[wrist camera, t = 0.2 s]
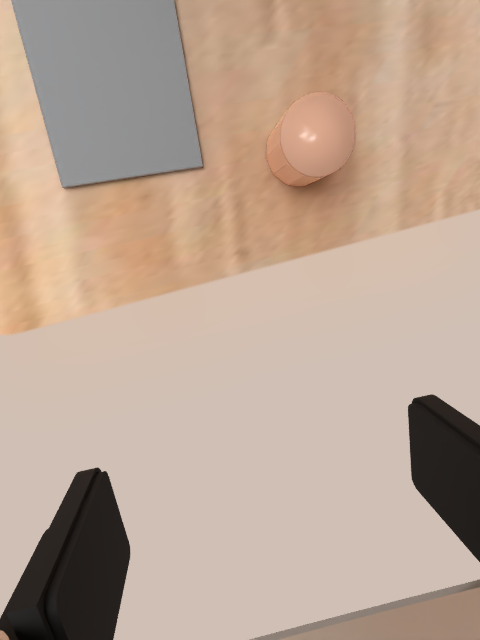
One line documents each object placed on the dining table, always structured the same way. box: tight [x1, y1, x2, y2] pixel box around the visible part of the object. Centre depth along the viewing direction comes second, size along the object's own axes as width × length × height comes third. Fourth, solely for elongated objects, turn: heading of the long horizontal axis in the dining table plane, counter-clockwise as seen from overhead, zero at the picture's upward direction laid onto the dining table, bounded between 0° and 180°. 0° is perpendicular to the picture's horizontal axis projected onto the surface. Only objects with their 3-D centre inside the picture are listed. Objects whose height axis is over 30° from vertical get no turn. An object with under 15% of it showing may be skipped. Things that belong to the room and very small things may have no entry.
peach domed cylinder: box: [266, 92, 356, 186], centre depth 34 cm, size 7×7×6 cm
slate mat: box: [11, 0, 203, 188], centre depth 34 cm, size 16×14×1 cm
